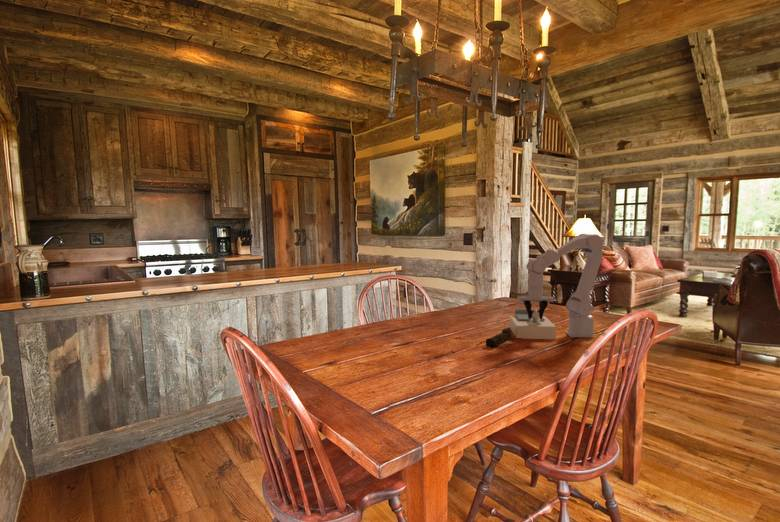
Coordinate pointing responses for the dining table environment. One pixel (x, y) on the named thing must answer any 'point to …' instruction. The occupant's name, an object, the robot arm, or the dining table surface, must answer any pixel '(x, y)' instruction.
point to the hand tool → (499, 338)
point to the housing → (532, 329)
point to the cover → (523, 315)
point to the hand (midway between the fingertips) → (535, 318)
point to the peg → (535, 316)
